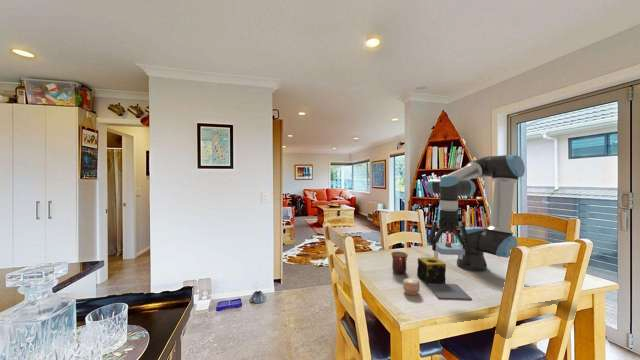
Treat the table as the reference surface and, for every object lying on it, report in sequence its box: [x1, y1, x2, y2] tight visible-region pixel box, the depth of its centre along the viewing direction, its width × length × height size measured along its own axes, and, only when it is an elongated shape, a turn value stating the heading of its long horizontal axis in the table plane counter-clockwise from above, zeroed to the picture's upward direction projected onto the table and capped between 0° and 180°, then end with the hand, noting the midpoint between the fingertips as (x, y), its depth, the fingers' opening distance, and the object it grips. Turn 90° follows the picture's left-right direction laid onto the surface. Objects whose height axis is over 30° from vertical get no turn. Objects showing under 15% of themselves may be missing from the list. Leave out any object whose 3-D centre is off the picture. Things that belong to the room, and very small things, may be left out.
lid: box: [437, 241, 465, 256], centre depth 114 cm, size 10×10×4 cm
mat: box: [426, 283, 473, 301], centre depth 115 cm, size 14×14×1 cm
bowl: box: [402, 277, 421, 296], centre depth 114 cm, size 7×7×5 cm
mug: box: [390, 251, 409, 275], centre depth 136 cm, size 12×9×10 cm
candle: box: [416, 256, 447, 285], centre depth 128 cm, size 10×10×10 cm
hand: (448, 258), depth 114 cm, fingers closed on lid, 10 cm apart
